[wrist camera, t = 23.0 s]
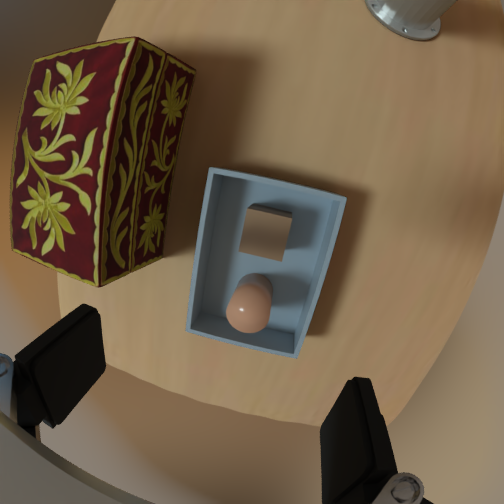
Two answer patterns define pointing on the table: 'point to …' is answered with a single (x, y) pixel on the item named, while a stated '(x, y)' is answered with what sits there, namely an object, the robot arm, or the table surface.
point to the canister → (250, 303)
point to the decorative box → (97, 158)
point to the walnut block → (265, 232)
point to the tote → (261, 258)
